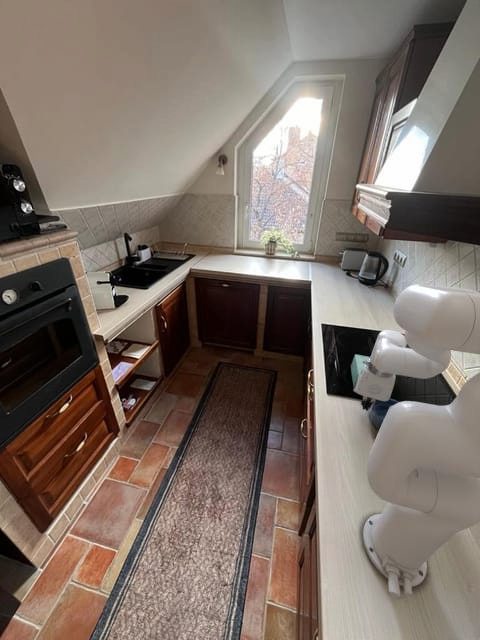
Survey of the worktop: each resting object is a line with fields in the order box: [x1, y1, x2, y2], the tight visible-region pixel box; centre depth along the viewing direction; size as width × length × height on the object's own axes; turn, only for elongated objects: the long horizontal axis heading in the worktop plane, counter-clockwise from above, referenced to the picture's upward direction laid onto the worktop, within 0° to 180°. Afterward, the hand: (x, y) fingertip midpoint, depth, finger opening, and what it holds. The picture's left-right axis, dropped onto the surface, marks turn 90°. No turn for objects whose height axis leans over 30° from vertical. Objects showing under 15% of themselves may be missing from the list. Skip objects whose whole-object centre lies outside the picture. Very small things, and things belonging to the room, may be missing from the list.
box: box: [350, 354, 371, 388], centre depth 104 cm, size 7×14×8 cm, turn 164°
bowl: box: [368, 397, 400, 430], centre depth 86 cm, size 12×12×5 cm
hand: (364, 406), depth 89 cm, fingers closed
